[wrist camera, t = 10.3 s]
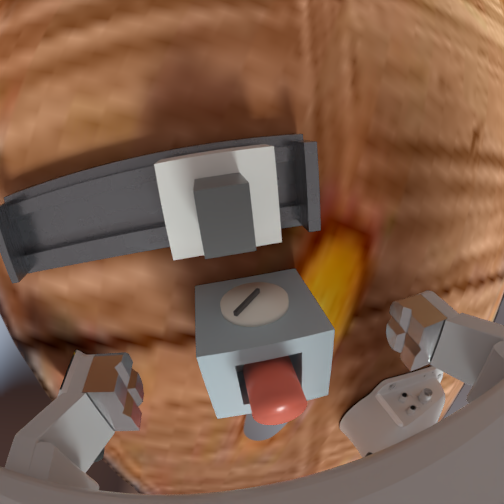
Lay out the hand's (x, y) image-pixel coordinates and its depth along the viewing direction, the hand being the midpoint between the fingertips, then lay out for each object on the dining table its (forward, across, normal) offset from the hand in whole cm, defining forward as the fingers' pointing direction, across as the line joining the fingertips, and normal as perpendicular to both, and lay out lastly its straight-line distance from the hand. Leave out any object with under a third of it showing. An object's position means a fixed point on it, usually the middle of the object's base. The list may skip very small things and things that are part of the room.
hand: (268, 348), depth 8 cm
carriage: (+16, 0, +1) cm, 16 cm away
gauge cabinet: (+19, +1, -12) cm, 22 cm away
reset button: (+10, +1, -12) cm, 16 cm away
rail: (+19, -7, +1) cm, 20 cm away
